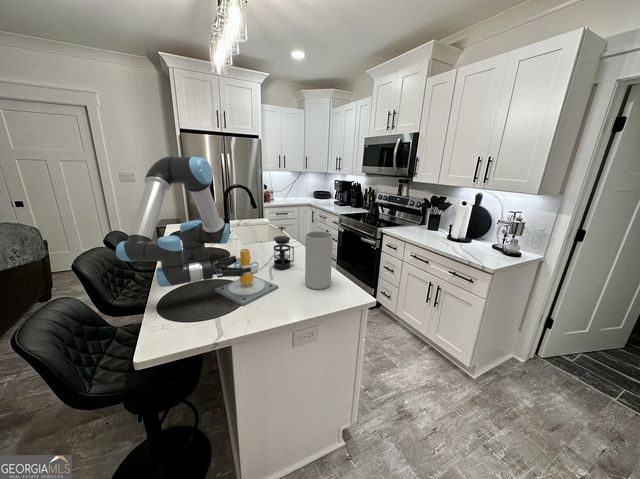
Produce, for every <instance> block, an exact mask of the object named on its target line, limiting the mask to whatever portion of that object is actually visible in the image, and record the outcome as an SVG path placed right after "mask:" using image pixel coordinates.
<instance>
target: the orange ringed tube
mask: <svg viewBox="0 0 640 479" xmlns="http://www.w3.org/2000/svg"><path fill="white" fill-rule="evenodd" d="M250 256H251V253H250V249H249V248H242V249H240V250H239V257H240V258H241V263H239V262H237V263H234V264H233V265H234V266H233V267H235V268H242V267H244V266H250V265H256V264H258V268H259V266H260V265H259V263H258V262H257V261H251V262H250ZM258 272H259V270H258V271H254V272H248V273H243V276H238V278H239V279H240V283H242V284H249V283H252V282H253V276H254V275H256V274H257V273H258Z"/></svg>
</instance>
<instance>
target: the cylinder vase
mask: <svg viewBox="0 0 640 479" xmlns="http://www.w3.org/2000/svg"><path fill="white" fill-rule="evenodd" d="M333 238H334V235H333V233H330V232H328V231H320V230H319V231H318V230H317V231H309V232H306V233H305V256H304V257H305V260H304V261H305V262H304V263H305V265H304V267H305V270H304V272H305V273H304V275H305V277H304V278H305V279H304V281H305V282H304V284H305V286H307V287H308V288H309V289H313V290H324V289H327V288H330V287H331V284H332V268H333V267H332V265H333V264H332V263H333V262H332V261H333Z"/></svg>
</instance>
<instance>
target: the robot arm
mask: <svg viewBox="0 0 640 479" xmlns="http://www.w3.org/2000/svg"><path fill="white" fill-rule="evenodd" d="M211 166H212V165H211V164H210V163H209V161H208V160H207V159H206V158H205V157H204V158H203V157H197V156H173V155H172V156H171V155H169V156H165V157H162V158H160V159H158V160H156V162H154V163H153V164H152V165H151V167H149V169H148V171H147V173H146V175H145V176H144V177H145V178H144V184H145V185H144V186H145V187H144V188H143V189H144V190H143V193H142V197H141V199H140V202H139V204H138V205H139V206H138V208H137V211H136V214H135V218H134V220H133V224H132V226H131V230H130V233H129V236H128V238H127V240H124V241H121V242H119V243H118V244H117V245H116V247H115V248H116V249H115V254H116V257H117V259H119V260H120V261H123V262H133V263H134V262H160V264H161V267H159V268H157V269H156V279H157V284H158V286H159V287H160V288H165V287H173V286H179V285H183V284H188V283H189V284H190V283H196V282H201V281H202V280H203V281H206V280H212V279H213V278H214V276H215V275H216V277H217V278H218V279H220V278H231V277H239V276H243V273H248V272H256V271H258V272H259V267H258V264H259V263H258V264H256V263H255V264H252V265H250V266H244V267H242V268H239V267H236V268H235V267H234V266H233V267H232V265H234V264H235V263H237V262H239V263H241V258H240V256H239V257H238V256H237V257H236V255H233V256H232V255H231V256H229V257H225V258H220V259H217V260H213V261H212V262H211V260H210V254H209V252H208V250H207V248H206V244H209V245H210V244H213V245H217V244H219V245H223V244H227V243H228V241H229V240H230V234H231V225H230V224H229V223H225V221H224V219H223V218H222V217H220V215H219V212H218V208H217V206H216V204H215V201H214V198H213V195H212V192H211V190H210V186H211V184H212V181H213V175H214V174H213V169H212V167H211ZM173 184H179V185H180V184H181V185H182V186H183V187H184V189H185V190H186V191H187V192H188V193H189V192H190V194H191V197H192V199H193V202H194V204H195V206H196V209H197V212H198V213H199V216H200V218H201V220H200V219H194V220H190V221H184V222H183V223H181V224H180V225H179V231H180V232H179V234H180V237H179V236H177V235H164V236H161V237H158V239H157V241H153V237H154V236H155V235H154V234H155V230H156V228H157V224H158V220H159V217H160V213H161V210H162V207H163V203H164V200H165V197H166V193H167V191H170V188H171V186H172V185H173ZM250 263H252V257H251V255H250Z"/></svg>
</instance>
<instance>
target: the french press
mask: <svg viewBox="0 0 640 479" xmlns="http://www.w3.org/2000/svg"><path fill="white" fill-rule="evenodd" d="M277 229H278V230H280V232H281V234H280V235H278V236H275V237H273V240H274V241H275V243H276V245H273V265H274V266H273V268H274V269H275V270H277V271H285V270H289V269H291V267H292V266H291V263H293V262H294V260H295V254H294V253H295V251H294V248H295V247H294V246H292V245H289V243H290V240H291V238H290V236H284V235H283V230H285V229H286V227H284V226H280V227H277ZM283 247H285V248H283ZM291 248H292V260H291ZM288 251H289V254H287V253H285V252H288ZM276 252H279V253H278V254H275V253H276Z"/></svg>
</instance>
